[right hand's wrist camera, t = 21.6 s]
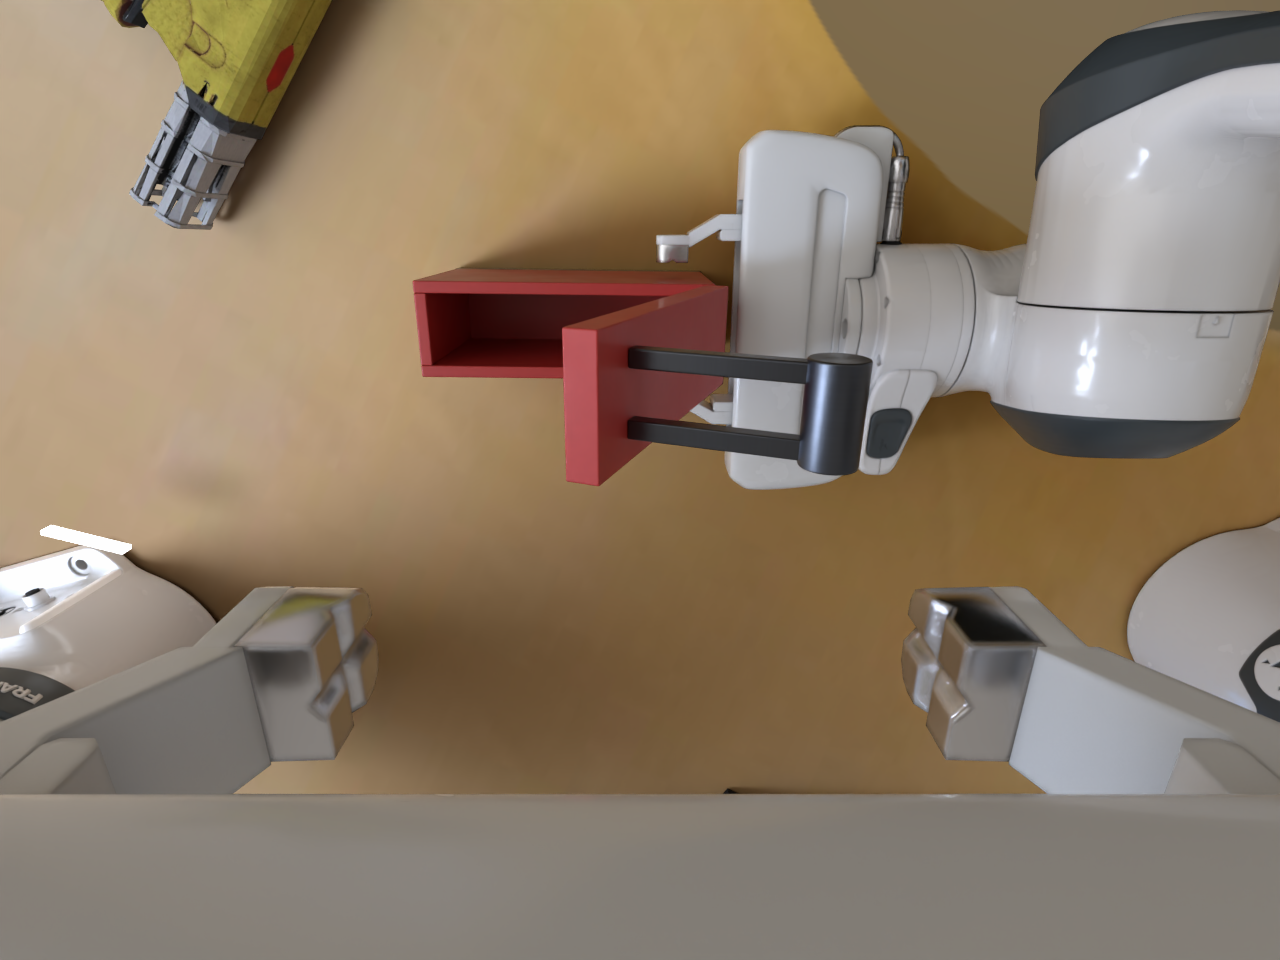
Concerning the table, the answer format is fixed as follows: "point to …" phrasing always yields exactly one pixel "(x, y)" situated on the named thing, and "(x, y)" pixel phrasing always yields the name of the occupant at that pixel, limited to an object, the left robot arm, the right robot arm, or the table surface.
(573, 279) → the chest
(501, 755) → the table surface
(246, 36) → the toy gun
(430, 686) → the table surface
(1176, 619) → the left robot arm
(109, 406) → the table surface
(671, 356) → the lid
